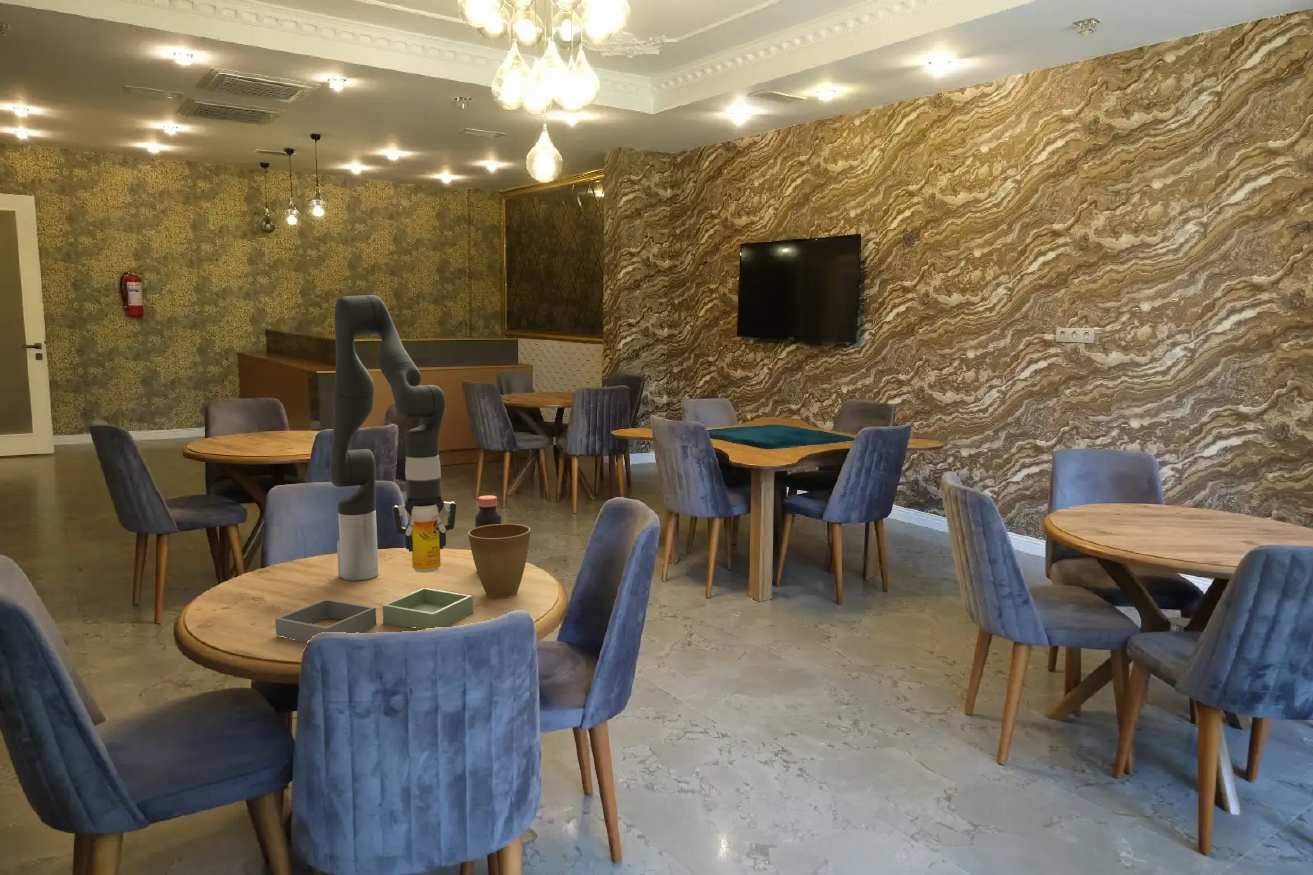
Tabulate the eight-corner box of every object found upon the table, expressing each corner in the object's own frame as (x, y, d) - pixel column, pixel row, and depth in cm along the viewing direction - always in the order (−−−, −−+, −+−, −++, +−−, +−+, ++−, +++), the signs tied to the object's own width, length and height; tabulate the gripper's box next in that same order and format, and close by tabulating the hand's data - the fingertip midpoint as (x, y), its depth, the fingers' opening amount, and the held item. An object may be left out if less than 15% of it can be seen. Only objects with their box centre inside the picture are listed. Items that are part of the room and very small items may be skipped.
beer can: (433, 574, 196) (430, 507, 194) (407, 572, 198) (405, 506, 195) (445, 566, 202) (443, 501, 200) (420, 565, 203) (417, 500, 201)
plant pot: (534, 584, 226) (533, 522, 224) (528, 603, 211) (526, 537, 209) (475, 584, 225) (473, 523, 223) (464, 604, 211) (462, 538, 208)
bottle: (472, 573, 235) (470, 499, 232) (483, 566, 242) (481, 494, 239) (496, 575, 234) (494, 500, 231) (506, 568, 240) (504, 495, 237)
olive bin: (383, 622, 198) (382, 605, 198) (424, 604, 211) (423, 587, 210) (433, 632, 192) (433, 614, 192) (473, 612, 205) (472, 595, 204)
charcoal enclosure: (276, 636, 190) (275, 618, 189) (327, 615, 203) (326, 598, 202) (327, 647, 184) (326, 628, 183) (376, 625, 197) (375, 607, 196)
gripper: (390, 480, 191) (393, 557, 193) (458, 476, 196) (460, 551, 198) (388, 474, 198) (391, 548, 200) (454, 470, 203) (456, 542, 205)
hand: (426, 549), depth 199 cm, fingers closed on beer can, 6 cm apart
